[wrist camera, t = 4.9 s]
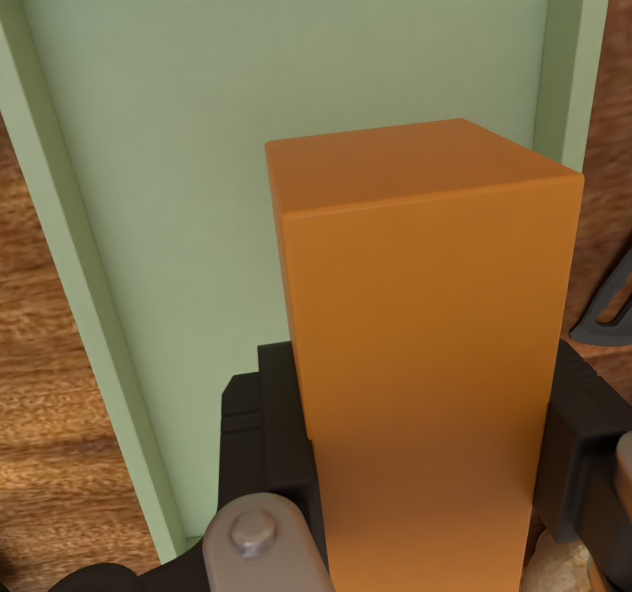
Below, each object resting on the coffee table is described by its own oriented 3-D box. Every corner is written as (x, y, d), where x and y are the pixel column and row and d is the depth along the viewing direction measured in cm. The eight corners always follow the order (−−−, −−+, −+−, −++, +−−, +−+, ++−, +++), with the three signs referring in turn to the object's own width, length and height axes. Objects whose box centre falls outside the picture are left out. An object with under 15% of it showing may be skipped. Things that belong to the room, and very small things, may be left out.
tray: (-16, -49, 15) (-62, -60, 13) (573, -99, 16) (627, -118, 14) (175, 540, 27) (169, 588, 25) (503, 485, 29) (527, 525, 26)
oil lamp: (686, 390, 27) (773, 463, 23) (666, 558, 34) (730, 639, 29) (485, 448, 27) (533, 532, 23) (506, 604, 34) (546, 692, 30)
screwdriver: (339, 712, 19) (361, 861, 16) (263, 140, 9) (278, 213, 6) (438, 692, 19) (480, 835, 16) (465, 116, 9) (589, 173, 6)
